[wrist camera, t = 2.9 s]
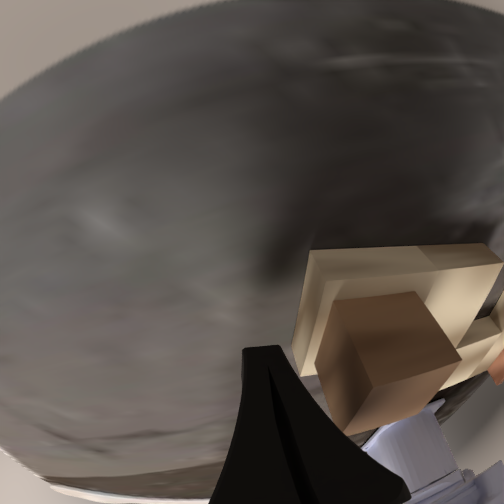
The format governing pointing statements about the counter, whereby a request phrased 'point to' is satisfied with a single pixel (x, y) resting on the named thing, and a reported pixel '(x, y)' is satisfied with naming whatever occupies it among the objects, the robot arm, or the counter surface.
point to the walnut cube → (382, 360)
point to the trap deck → (406, 280)
